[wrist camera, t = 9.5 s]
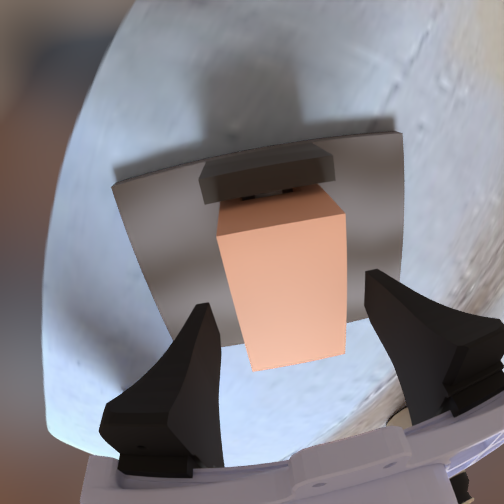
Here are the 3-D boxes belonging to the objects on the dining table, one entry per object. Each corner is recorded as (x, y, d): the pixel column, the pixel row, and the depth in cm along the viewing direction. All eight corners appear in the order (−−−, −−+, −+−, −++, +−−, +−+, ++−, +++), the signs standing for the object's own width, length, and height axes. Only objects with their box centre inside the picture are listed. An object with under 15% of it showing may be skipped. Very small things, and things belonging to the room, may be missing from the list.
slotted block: (317, 285, 21) (344, 353, 15) (247, 298, 21) (252, 371, 15) (307, 172, 17) (345, 213, 11) (221, 187, 17) (216, 236, 11)
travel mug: (423, 419, 37) (459, 508, 21) (380, 433, 36) (410, 531, 21) (440, 392, 33) (486, 492, 17) (393, 408, 33) (433, 521, 17)
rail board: (391, 303, 23) (416, 343, 19) (180, 344, 24) (173, 391, 20) (394, 131, 17) (439, 145, 12) (116, 182, 17) (82, 210, 13)
